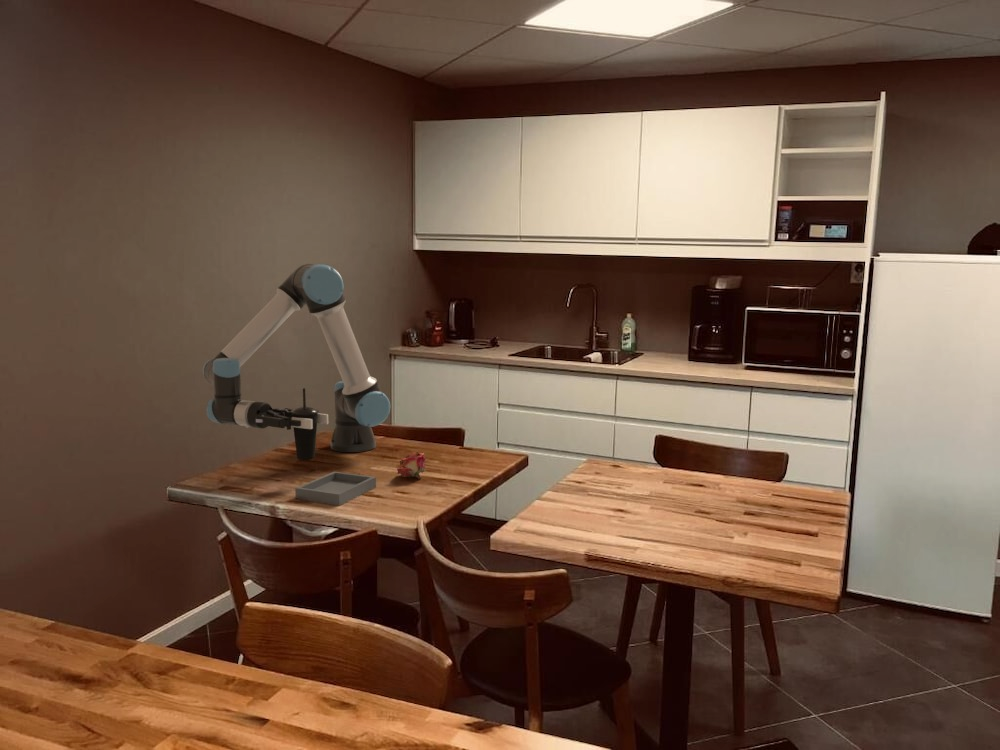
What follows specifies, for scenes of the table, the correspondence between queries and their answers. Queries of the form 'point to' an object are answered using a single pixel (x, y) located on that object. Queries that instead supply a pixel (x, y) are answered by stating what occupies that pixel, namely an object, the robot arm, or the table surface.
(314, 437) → the drinking cup
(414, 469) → the flower
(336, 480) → the tray
